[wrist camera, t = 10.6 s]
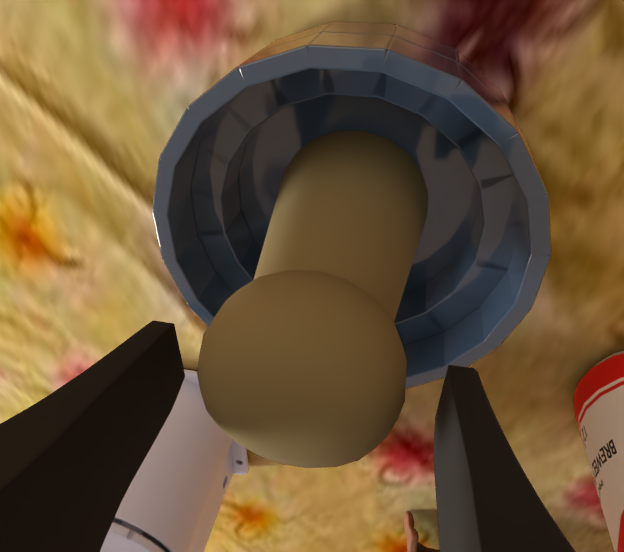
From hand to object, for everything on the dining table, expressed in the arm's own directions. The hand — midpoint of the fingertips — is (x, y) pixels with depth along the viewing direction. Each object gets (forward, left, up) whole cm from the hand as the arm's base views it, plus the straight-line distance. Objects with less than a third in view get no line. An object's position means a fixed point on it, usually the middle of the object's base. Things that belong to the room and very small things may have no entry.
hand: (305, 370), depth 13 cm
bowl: (0, 0, -9) cm, 9 cm away
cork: (0, 0, -9) cm, 9 cm away
